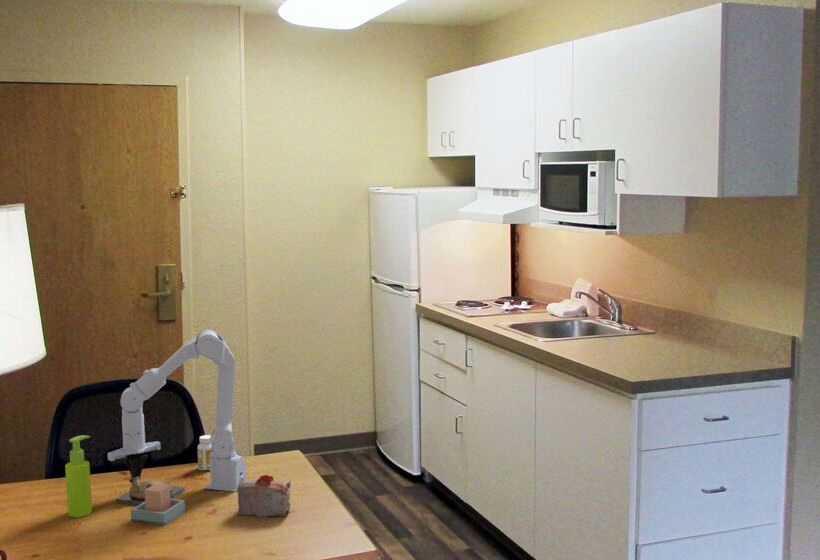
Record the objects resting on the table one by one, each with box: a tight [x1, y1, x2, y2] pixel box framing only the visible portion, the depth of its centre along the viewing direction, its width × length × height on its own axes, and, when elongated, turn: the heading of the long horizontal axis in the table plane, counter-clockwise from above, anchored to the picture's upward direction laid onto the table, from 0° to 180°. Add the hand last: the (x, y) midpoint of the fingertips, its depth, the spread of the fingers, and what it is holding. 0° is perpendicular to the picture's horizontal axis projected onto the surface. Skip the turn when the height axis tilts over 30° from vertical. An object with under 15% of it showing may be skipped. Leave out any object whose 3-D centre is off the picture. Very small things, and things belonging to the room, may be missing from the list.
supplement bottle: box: [197, 434, 212, 471], centre depth 266 cm, size 5×5×10 cm
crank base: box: [115, 485, 186, 506], centre depth 244 cm, size 13×13×1 cm
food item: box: [237, 474, 292, 518], centre depth 231 cm, size 14×8×10 cm, turn 85°
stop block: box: [145, 484, 171, 512], centre depth 229 cm, size 4×4×7 cm
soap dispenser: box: [64, 434, 93, 518], centre depth 232 cm, size 6×7×20 cm
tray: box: [130, 498, 186, 526], centre depth 230 cm, size 10×10×3 cm
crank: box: [128, 476, 173, 499], centre depth 243 cm, size 12×11×5 cm
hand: (136, 480), depth 246 cm, fingers closed
